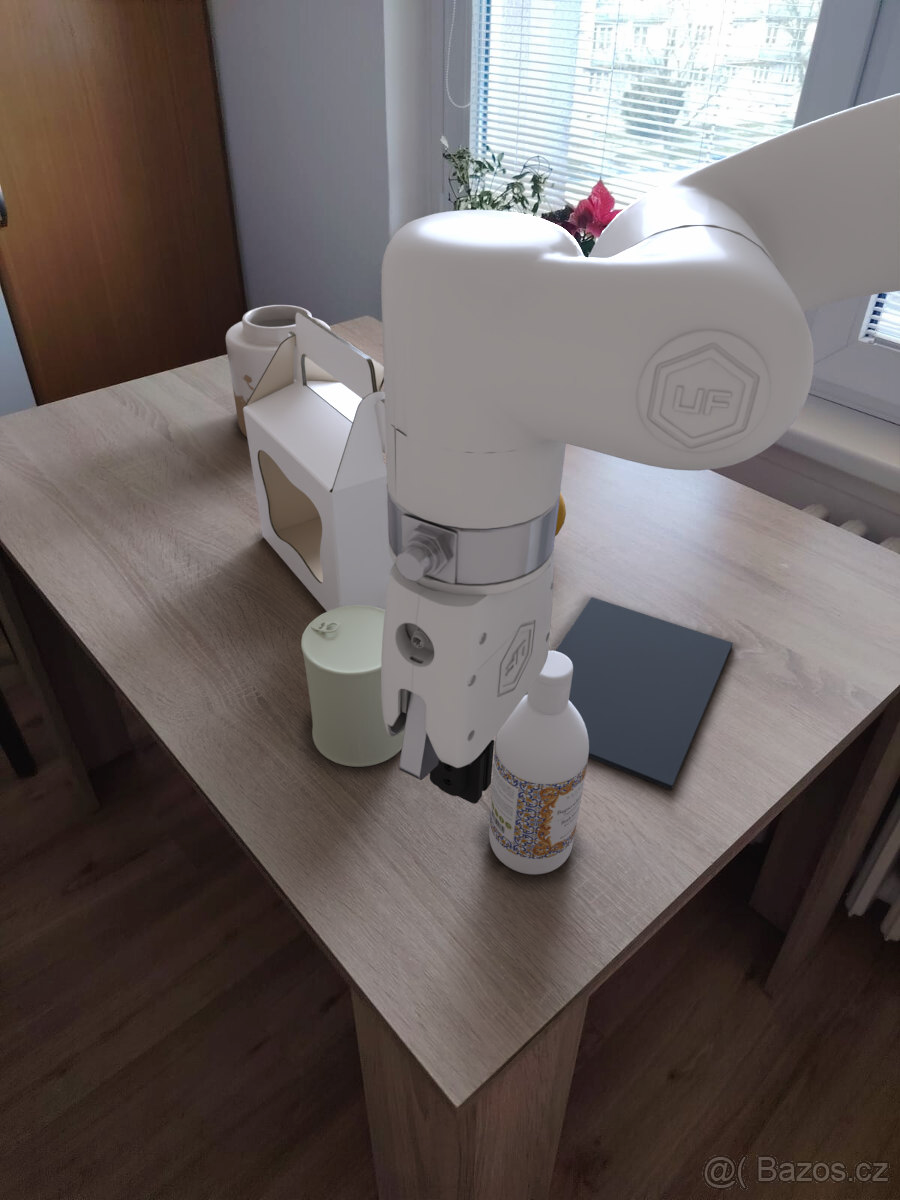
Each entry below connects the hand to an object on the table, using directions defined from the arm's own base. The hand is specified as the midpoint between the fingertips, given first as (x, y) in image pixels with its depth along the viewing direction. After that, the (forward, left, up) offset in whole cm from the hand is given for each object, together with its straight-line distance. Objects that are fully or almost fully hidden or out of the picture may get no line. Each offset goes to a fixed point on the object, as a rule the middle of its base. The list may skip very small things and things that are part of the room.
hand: (460, 784), depth 48 cm
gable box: (+51, -2, -20) cm, 55 cm away
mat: (+23, -25, -20) cm, 39 cm away
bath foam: (+8, -9, -20) cm, 23 cm away
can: (+24, +2, -20) cm, 31 cm away
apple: (+49, -24, -20) cm, 58 cm away
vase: (+90, 0, -20) cm, 92 cm away
